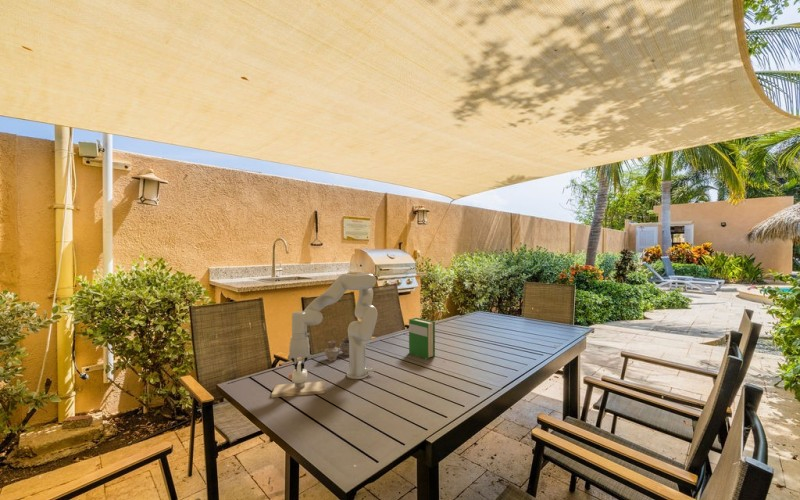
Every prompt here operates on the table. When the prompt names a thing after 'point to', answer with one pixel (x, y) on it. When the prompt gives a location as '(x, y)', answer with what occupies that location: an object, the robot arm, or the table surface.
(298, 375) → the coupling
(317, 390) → the post base
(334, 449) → the table surface
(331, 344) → the pottery
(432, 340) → the hardback book
